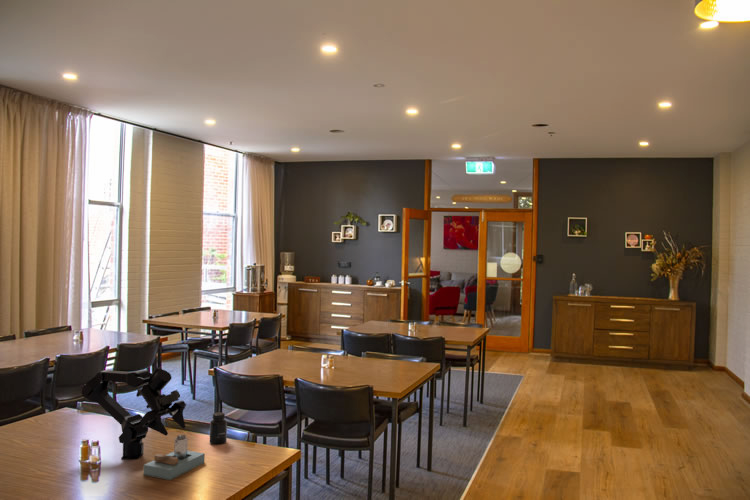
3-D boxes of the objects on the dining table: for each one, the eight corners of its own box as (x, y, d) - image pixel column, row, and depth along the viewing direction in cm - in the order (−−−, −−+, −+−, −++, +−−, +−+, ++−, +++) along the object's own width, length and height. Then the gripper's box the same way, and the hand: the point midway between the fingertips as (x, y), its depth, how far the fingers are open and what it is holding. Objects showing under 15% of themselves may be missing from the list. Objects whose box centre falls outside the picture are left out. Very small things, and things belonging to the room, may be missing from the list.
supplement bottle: (221, 446, 231) (222, 416, 231) (206, 444, 233) (206, 415, 233) (229, 440, 238) (229, 412, 238) (214, 439, 239) (214, 411, 239)
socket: (143, 474, 201) (143, 464, 201) (179, 458, 217) (179, 448, 217) (170, 480, 196) (170, 470, 196) (204, 462, 213) (204, 453, 213)
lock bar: (154, 461, 203) (154, 455, 203) (158, 459, 205) (158, 453, 205) (174, 465, 200) (174, 459, 200) (178, 463, 202) (178, 457, 202)
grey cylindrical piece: (172, 466, 207) (173, 437, 207) (175, 462, 211) (176, 433, 212) (185, 466, 207) (186, 437, 207) (188, 461, 212) (189, 433, 212)
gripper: (146, 390, 204) (170, 424, 200) (182, 379, 221) (205, 411, 217) (129, 409, 207) (152, 443, 203) (166, 397, 224) (188, 429, 220)
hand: (175, 431), depth 210 cm, fingers open, 9 cm apart
